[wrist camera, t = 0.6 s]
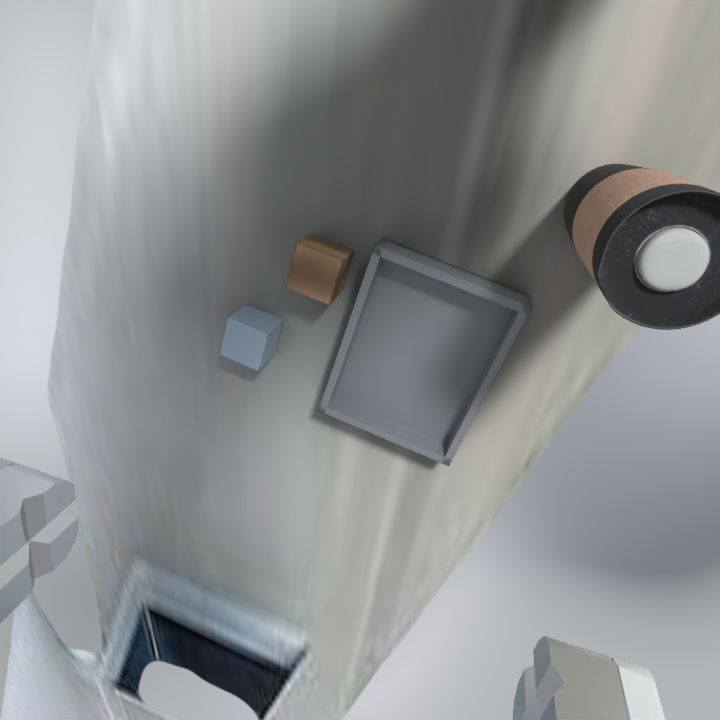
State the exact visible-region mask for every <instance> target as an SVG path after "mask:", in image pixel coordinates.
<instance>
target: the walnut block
mask: <svg viewBox="0 0 720 720" xmlns="http://www.w3.org/2000/svg"><path fill="white" fill-rule="evenodd" d="M353 253H354V251H353V250H351V249H348V248H346V247H343V246H341V245H338V244H336V243H333V242H331V241H328V240H326V239H323V238H321V237H318V236H316V235H313V234H312V235H311V236H309V237H307V238H306V239H304V240H302V241H300V242H299V243H297V246H296V250H295V254H294V257H293V261H292V265H291V269H290V272H289V276H288V280H287V283H286V288H289V289H291V290H293V291H296V292H298V293H301V294H303V295H306V296H308V297H311V298H313V299H316V300H318V301H320V302H323V303H325V304H328V305H329V304H330V303H331V302H332V301H333V299H334V298H335V297H336V296H337V295H338V294H339V293H340V292H341V290H342V287H343V284H344V281H345V278H346V275H347V272H348V269H349V265H350V262H351V259H352V256H353Z"/></svg>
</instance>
